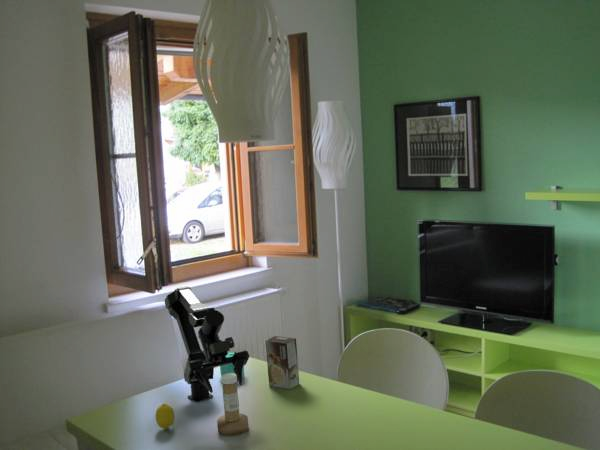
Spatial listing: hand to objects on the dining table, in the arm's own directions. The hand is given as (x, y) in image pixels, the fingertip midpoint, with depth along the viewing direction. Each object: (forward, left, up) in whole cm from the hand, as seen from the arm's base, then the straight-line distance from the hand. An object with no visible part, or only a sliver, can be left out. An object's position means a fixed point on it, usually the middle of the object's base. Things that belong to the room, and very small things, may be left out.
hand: (226, 388), depth 198 cm
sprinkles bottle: (+3, -1, -9) cm, 9 cm away
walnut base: (+3, -1, -11) cm, 12 cm away
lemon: (-12, -15, -12) cm, 22 cm away
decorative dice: (-34, +23, -12) cm, 43 cm away
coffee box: (-14, +31, -12) cm, 36 cm away
